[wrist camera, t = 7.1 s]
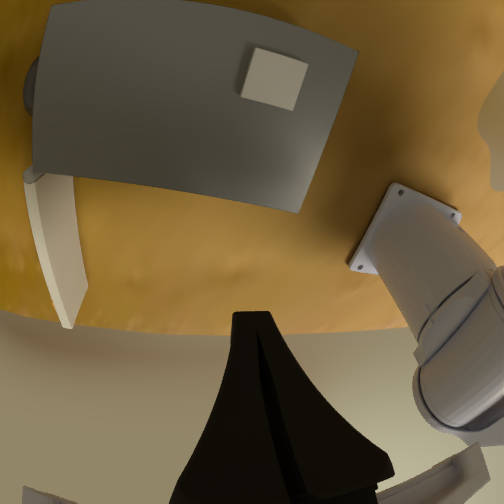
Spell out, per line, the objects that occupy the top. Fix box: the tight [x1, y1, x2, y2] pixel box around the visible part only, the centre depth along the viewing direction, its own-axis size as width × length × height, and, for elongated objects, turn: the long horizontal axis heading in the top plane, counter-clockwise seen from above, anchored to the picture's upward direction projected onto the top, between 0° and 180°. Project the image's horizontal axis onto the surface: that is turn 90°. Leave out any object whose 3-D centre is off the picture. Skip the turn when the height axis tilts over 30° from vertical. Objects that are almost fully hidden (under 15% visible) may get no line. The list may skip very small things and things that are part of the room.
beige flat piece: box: [23, 165, 88, 329], centre depth 15 cm, size 12×2×4 cm, turn 167°
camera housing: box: [23, 0, 359, 214], centre depth 11 cm, size 14×8×6 cm, turn 74°
